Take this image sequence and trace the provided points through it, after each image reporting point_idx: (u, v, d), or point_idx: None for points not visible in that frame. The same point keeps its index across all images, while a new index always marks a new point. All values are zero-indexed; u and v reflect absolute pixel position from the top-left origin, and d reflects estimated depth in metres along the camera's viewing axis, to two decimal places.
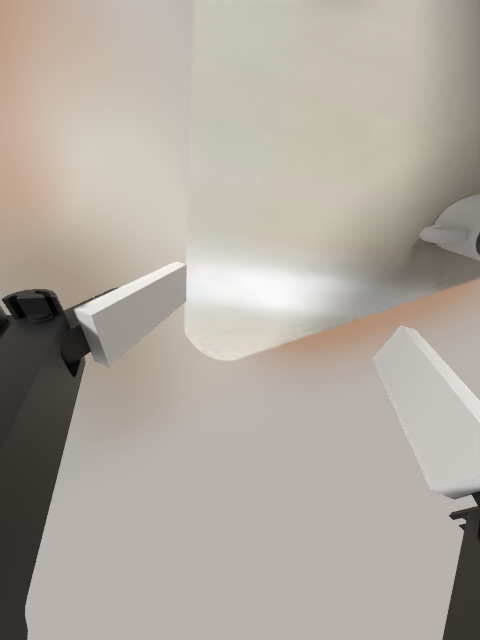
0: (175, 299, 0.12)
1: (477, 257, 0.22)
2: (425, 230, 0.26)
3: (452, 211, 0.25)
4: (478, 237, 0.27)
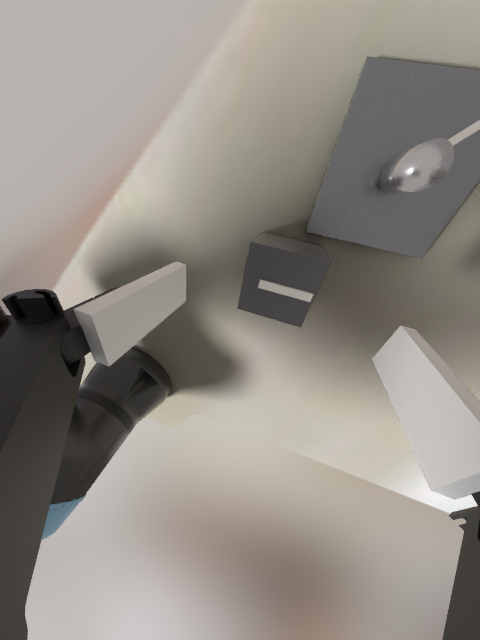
0: (175, 299, 0.12)
1: None
2: None
3: None
4: None
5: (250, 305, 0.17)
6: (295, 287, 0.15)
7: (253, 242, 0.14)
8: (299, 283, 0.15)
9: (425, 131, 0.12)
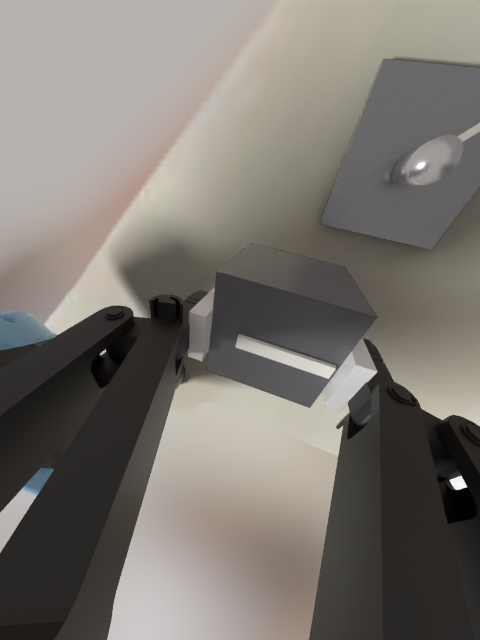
0: None
1: None
2: None
3: None
4: None
5: (226, 368, 0.10)
6: (302, 353, 0.08)
7: (222, 272, 0.07)
8: (309, 347, 0.08)
9: (437, 127, 0.13)
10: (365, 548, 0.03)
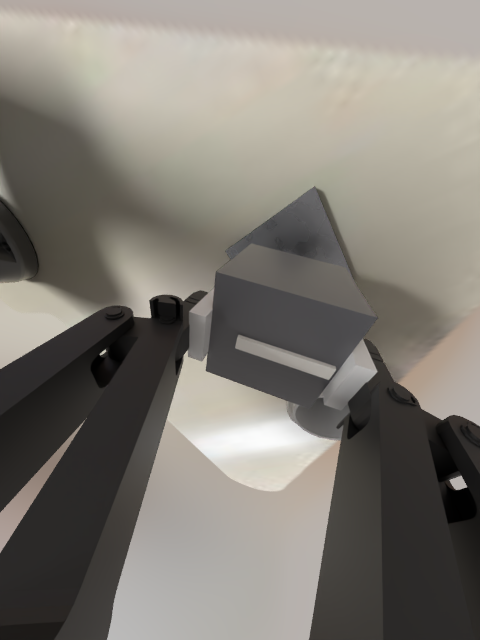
0: None
1: (327, 438, 0.20)
2: None
3: None
4: None
5: (225, 369, 0.10)
6: (302, 354, 0.08)
7: (221, 273, 0.07)
8: (309, 348, 0.08)
9: (310, 258, 0.18)
10: (365, 548, 0.03)
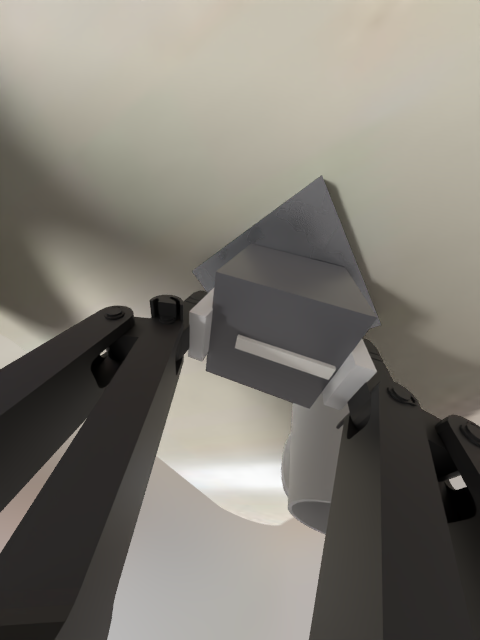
0: None
1: None
2: (282, 455, 0.20)
3: None
4: None
5: (225, 369, 0.10)
6: (301, 353, 0.08)
7: (221, 272, 0.07)
8: (309, 348, 0.08)
9: None
10: (364, 547, 0.04)
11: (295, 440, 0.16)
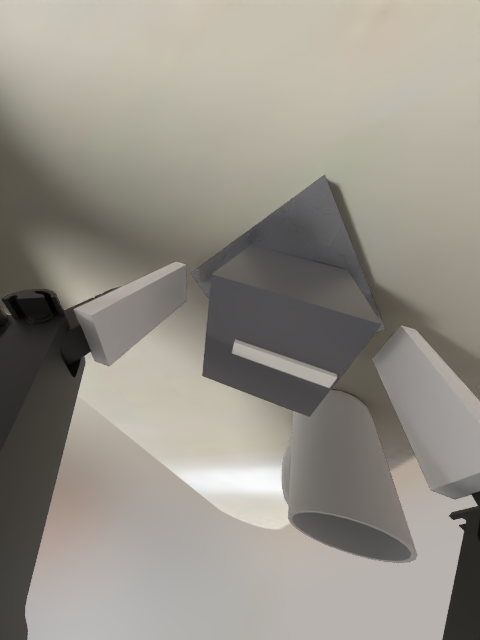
0: (175, 299, 0.12)
1: (340, 549, 0.14)
2: (283, 461, 0.19)
3: None
4: None
5: (222, 374, 0.10)
6: (301, 360, 0.08)
7: (217, 275, 0.07)
8: (309, 354, 0.07)
9: None
10: None
11: (296, 446, 0.15)
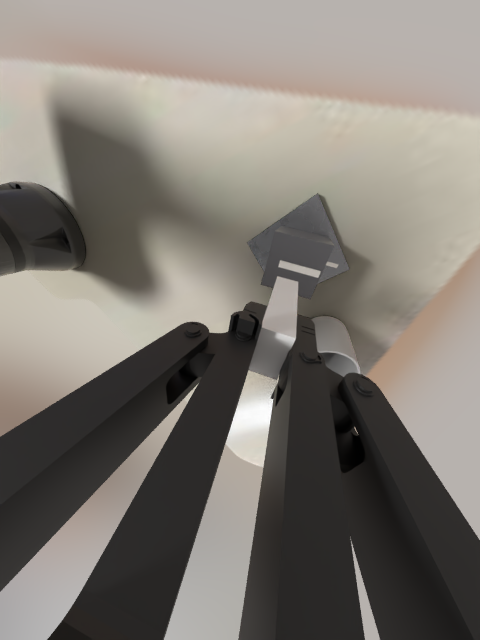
0: None
1: None
2: None
3: None
4: None
5: (271, 281, 0.22)
6: (307, 266, 0.20)
7: (276, 231, 0.19)
8: (310, 263, 0.19)
9: None
10: (276, 503, 0.04)
11: None
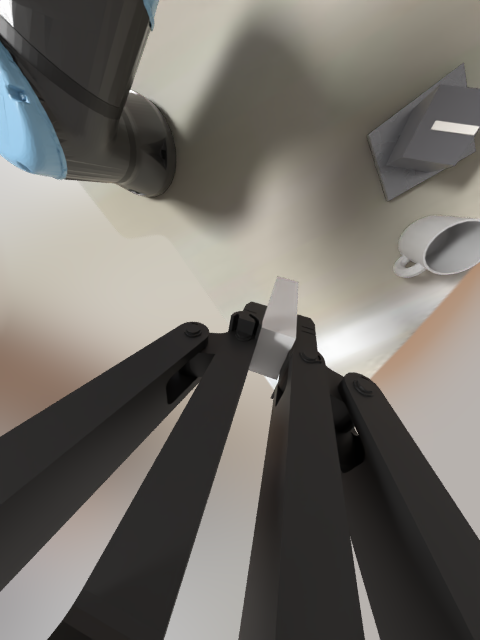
0: None
1: (447, 274, 0.27)
2: (394, 269, 0.32)
3: (402, 246, 0.32)
4: (447, 235, 0.31)
5: (416, 151, 0.23)
6: (464, 123, 0.21)
7: (441, 85, 0.20)
8: (469, 118, 0.20)
9: None
10: (276, 503, 0.04)
11: (417, 233, 0.28)
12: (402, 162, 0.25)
